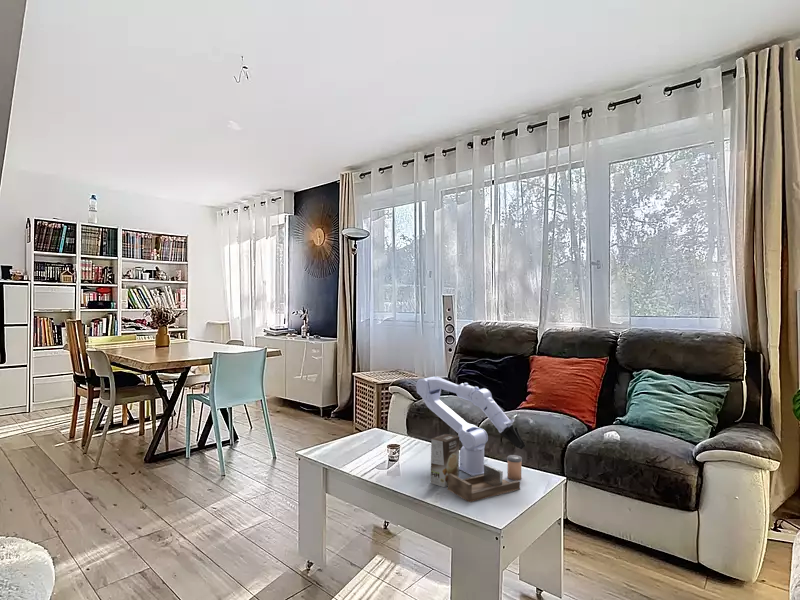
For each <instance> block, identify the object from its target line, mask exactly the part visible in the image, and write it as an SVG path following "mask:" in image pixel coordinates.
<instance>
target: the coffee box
mask: <svg viewBox="0 0 800 600" xmlns="http://www.w3.org/2000/svg"><path fill="white" fill-rule="evenodd" d="M430 439H431V441H430V442H431V446H430V449H431V450H430V484H432V485H434V486H435V485H436V486H438V487H442V488H446V487H448V474H450V473H451V474H453V475H455V476H457V477H459V474H460V473H459V471H460V469H459V467H460V440H459V436H458V435H454V434H448V433H444V434H440V435H438V436H437V435H436V436H435V437H432V438H430ZM459 478H460V477H459Z"/></svg>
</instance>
